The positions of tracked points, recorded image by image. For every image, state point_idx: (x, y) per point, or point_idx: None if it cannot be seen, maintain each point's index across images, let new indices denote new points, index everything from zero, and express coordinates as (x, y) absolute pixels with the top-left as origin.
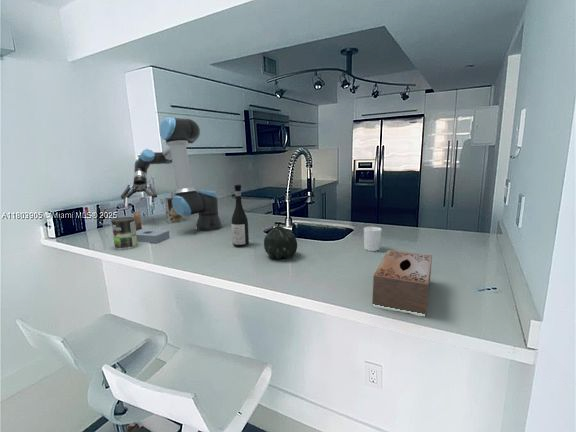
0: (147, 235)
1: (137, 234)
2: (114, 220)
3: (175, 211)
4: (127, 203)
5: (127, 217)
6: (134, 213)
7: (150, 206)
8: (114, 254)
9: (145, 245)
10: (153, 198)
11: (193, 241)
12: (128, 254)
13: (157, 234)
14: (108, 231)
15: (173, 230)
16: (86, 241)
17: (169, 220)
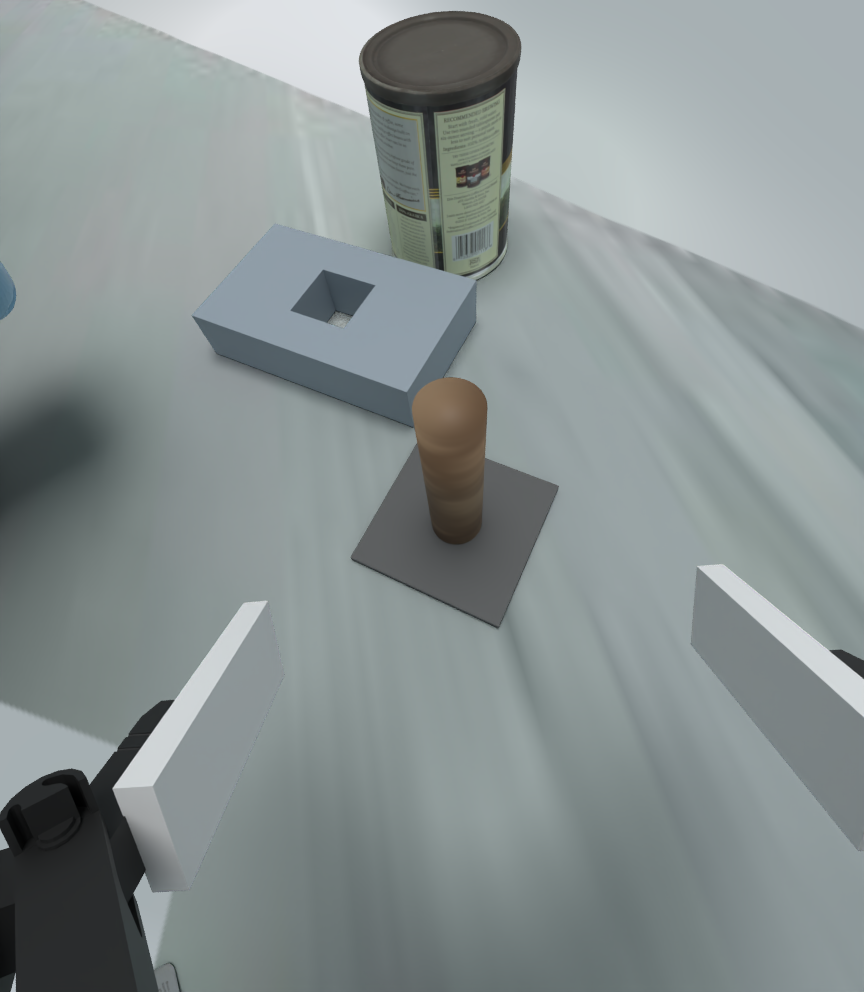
0: (326, 238)
1: (395, 265)
2: (491, 34)
3: (11, 287)
4: (754, 683)
5: (423, 86)
6: (470, 387)
7: (278, 653)
8: None
9: None
10: (113, 756)
11: (99, 269)
12: None
13: (267, 248)
14: None
15: (172, 547)
16: (786, 373)
17: None
